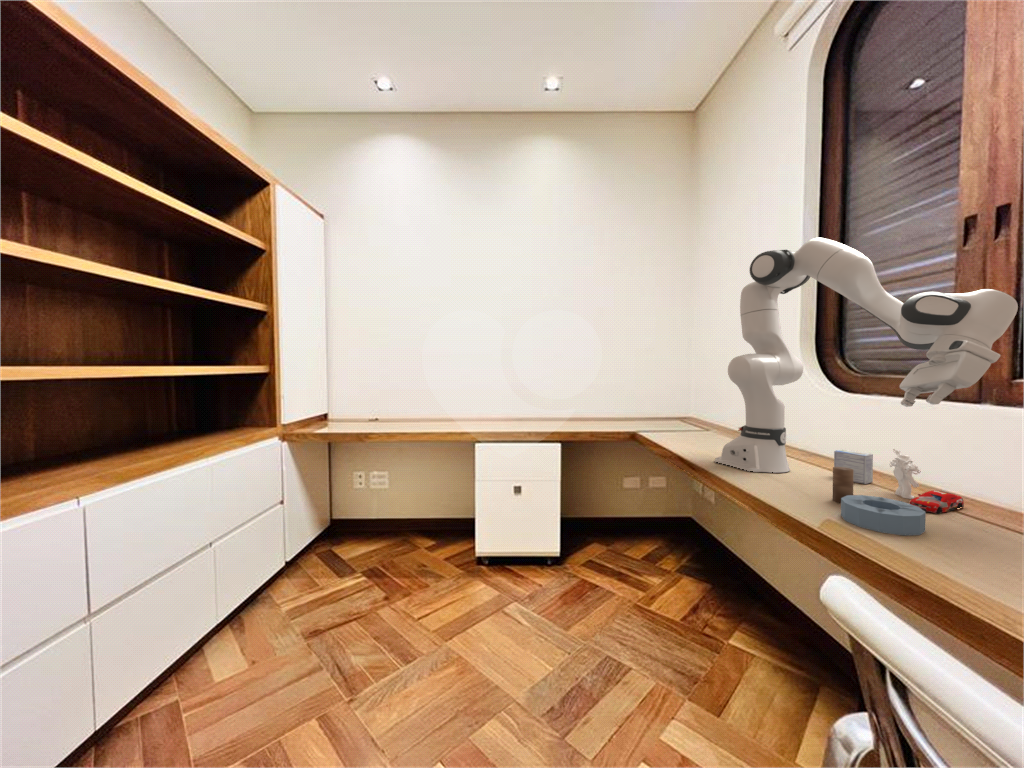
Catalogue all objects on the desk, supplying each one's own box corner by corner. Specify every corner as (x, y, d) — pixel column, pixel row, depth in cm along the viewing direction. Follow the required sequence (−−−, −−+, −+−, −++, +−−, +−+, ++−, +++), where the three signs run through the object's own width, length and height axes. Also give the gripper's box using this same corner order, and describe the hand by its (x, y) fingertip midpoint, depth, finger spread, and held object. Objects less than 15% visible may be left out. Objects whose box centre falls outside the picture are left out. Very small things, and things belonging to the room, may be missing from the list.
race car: (933, 516, 89) (933, 499, 89) (904, 508, 95) (904, 492, 94) (969, 509, 93) (970, 493, 93) (939, 502, 98) (939, 486, 98)
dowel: (829, 501, 100) (830, 468, 100) (836, 498, 102) (836, 465, 102) (849, 505, 96) (849, 471, 96) (855, 502, 98) (856, 469, 98)
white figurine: (884, 490, 107) (885, 447, 107) (902, 491, 106) (903, 447, 106) (906, 501, 99) (907, 454, 98) (926, 502, 98) (927, 455, 97)
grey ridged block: (873, 482, 115) (873, 453, 114) (865, 484, 113) (866, 455, 112) (841, 476, 122) (841, 448, 121) (833, 478, 120) (833, 450, 119)
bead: (831, 519, 88) (832, 501, 88) (855, 508, 95) (855, 491, 94) (912, 540, 77) (912, 520, 77) (932, 526, 84) (932, 507, 83)
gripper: (911, 356, 102) (878, 400, 103) (972, 339, 83) (931, 393, 84) (939, 368, 100) (905, 413, 101) (1008, 354, 81) (965, 409, 82)
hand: (917, 404), depth 93 cm, fingers open, 8 cm apart
